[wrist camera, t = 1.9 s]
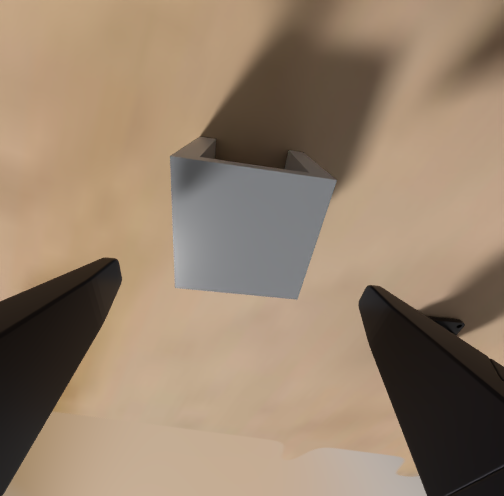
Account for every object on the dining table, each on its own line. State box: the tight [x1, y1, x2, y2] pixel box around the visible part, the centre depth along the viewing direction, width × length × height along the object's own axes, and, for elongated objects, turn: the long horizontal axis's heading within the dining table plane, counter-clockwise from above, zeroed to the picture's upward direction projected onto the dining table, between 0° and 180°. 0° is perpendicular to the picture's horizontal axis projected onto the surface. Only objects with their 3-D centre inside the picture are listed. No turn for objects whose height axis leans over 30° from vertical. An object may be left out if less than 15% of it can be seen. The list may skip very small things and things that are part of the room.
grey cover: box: [170, 136, 337, 299], centre depth 14 cm, size 7×7×6 cm
